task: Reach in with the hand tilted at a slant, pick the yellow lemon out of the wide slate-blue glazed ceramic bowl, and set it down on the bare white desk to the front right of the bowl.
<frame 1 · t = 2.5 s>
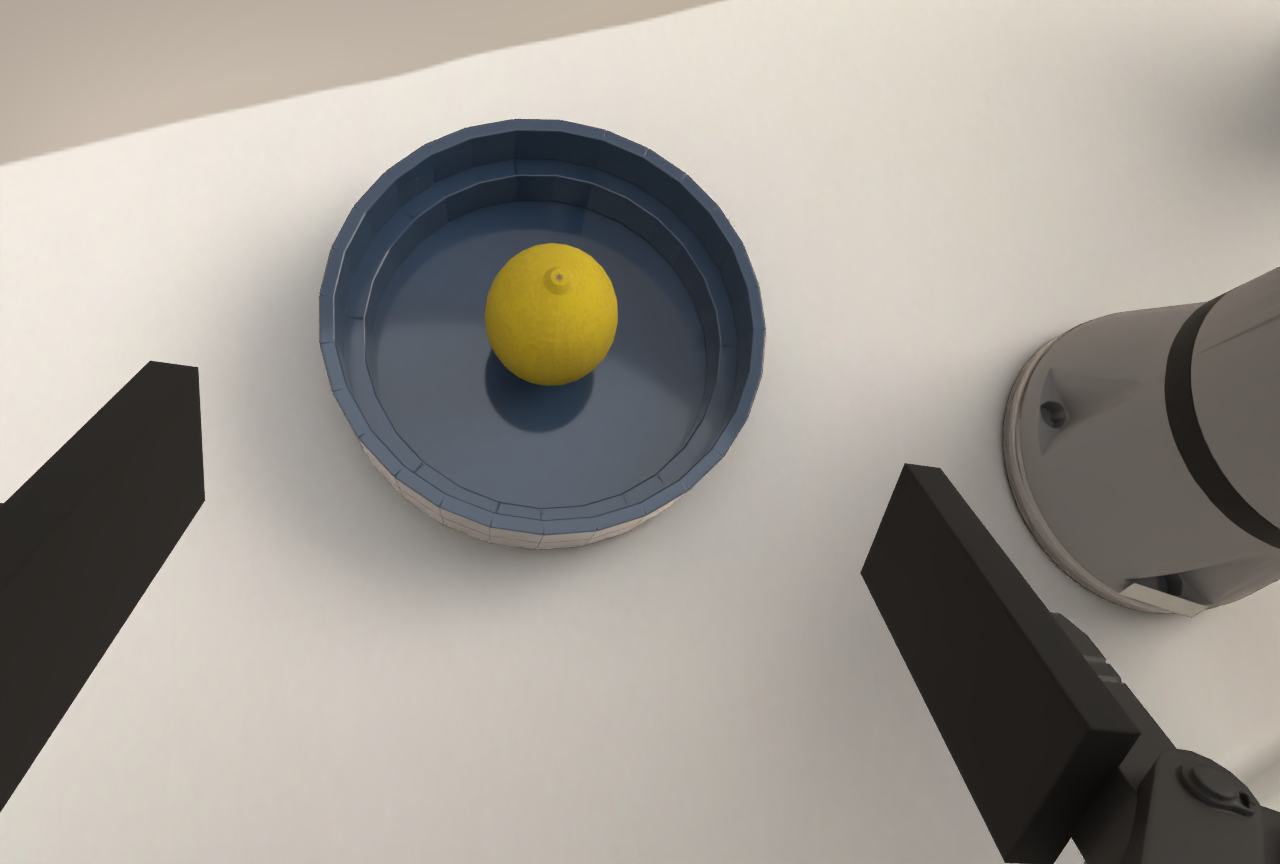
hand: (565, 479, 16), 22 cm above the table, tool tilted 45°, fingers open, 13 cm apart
lemon: (544, 352, 39), resting on bowl
bowl: (544, 352, 39), on the table
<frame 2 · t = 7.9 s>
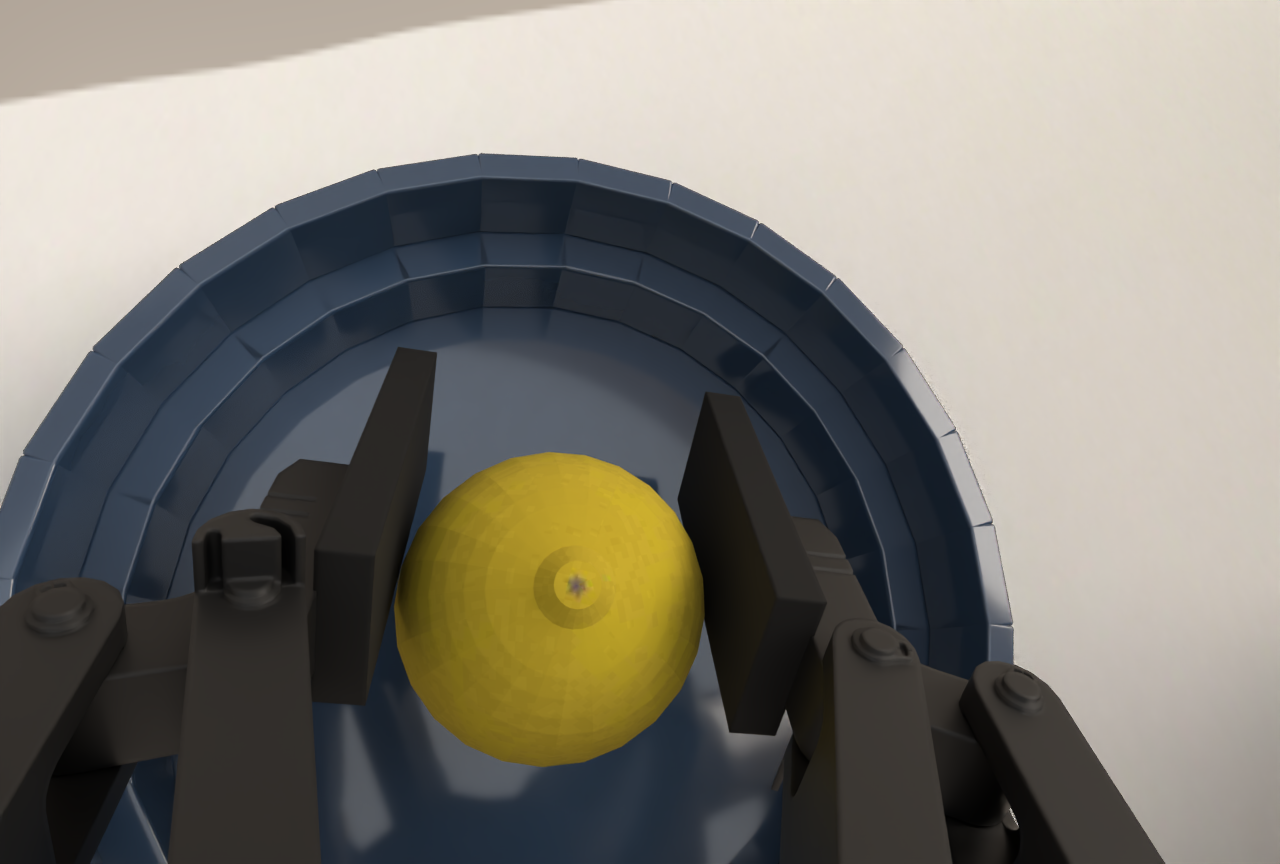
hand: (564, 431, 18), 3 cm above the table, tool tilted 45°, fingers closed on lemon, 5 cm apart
lemon: (531, 619, 20), resting on bowl, touching gripper
bowl: (531, 619, 20), on the table
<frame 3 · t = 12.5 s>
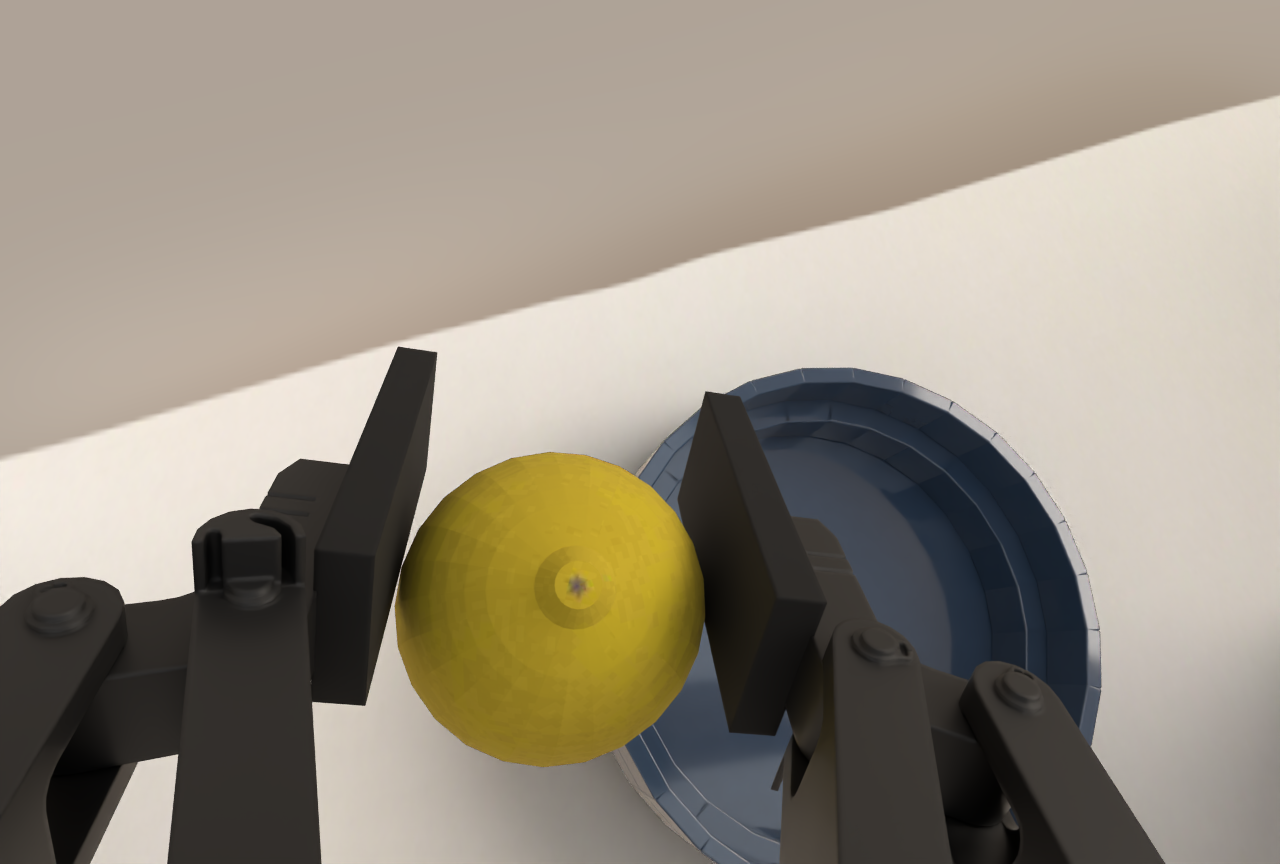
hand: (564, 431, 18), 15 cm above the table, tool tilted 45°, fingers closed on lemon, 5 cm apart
lemon: (532, 619, 20), point 12 cm above the table, touching gripper
bowl: (810, 626, 33), on the table
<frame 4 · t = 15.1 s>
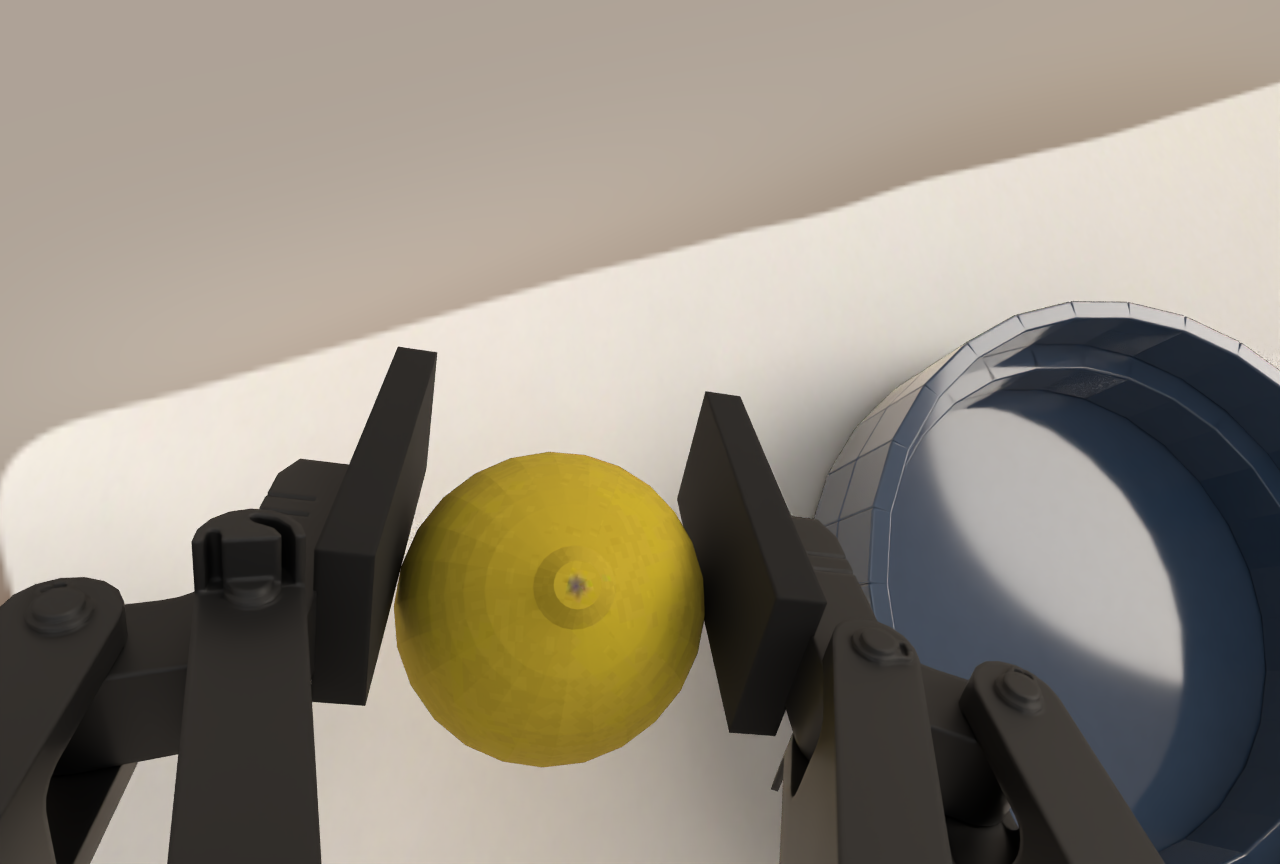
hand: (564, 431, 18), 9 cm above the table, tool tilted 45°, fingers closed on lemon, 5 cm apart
lemon: (531, 619, 19), point 6 cm above the table, touching gripper
bowl: (1058, 610, 28), on the table
when the fingers open (3 cm above the table, at t = 17.0 s): lemon stays where it is, on the table.
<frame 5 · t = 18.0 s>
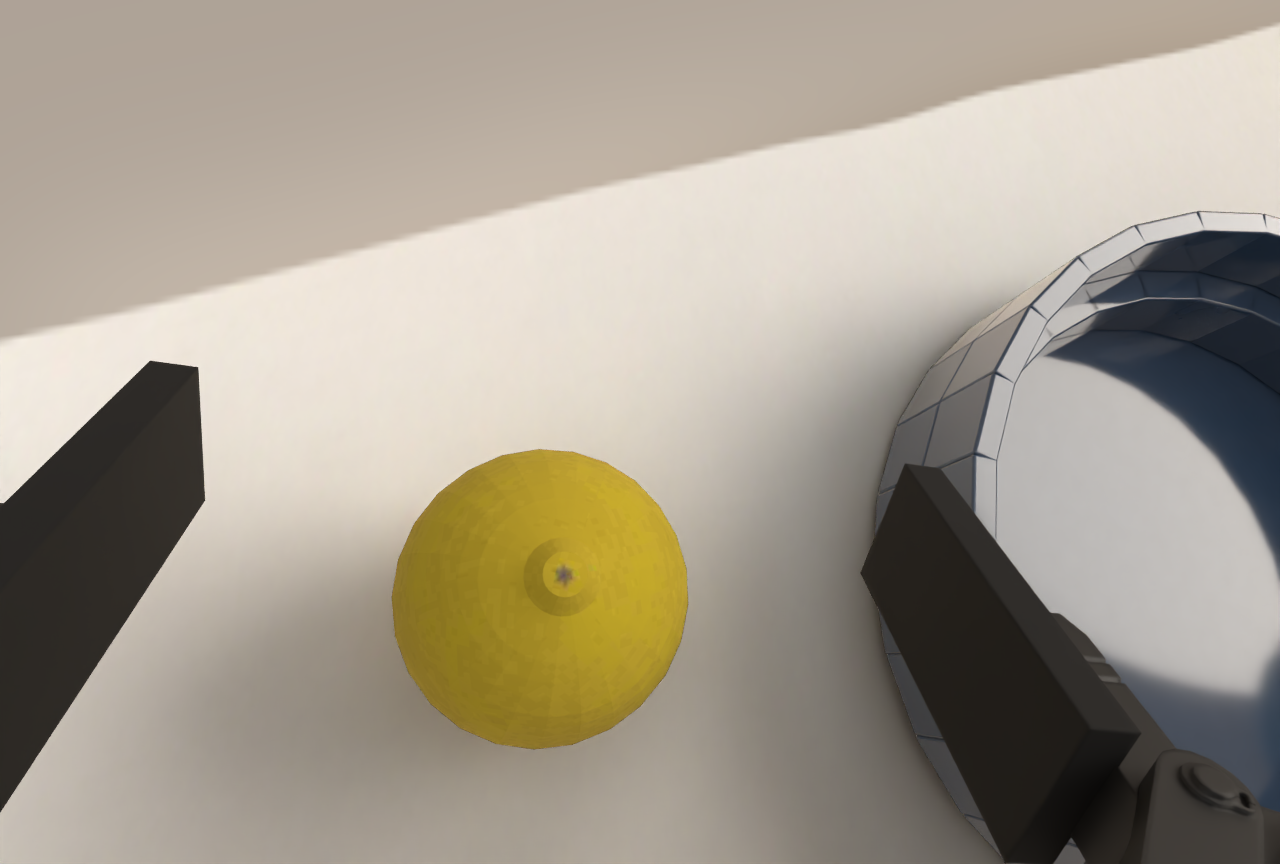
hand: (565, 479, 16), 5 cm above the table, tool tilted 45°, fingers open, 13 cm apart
lemon: (524, 611, 20), on the table
bowl: (1169, 589, 24), on the table
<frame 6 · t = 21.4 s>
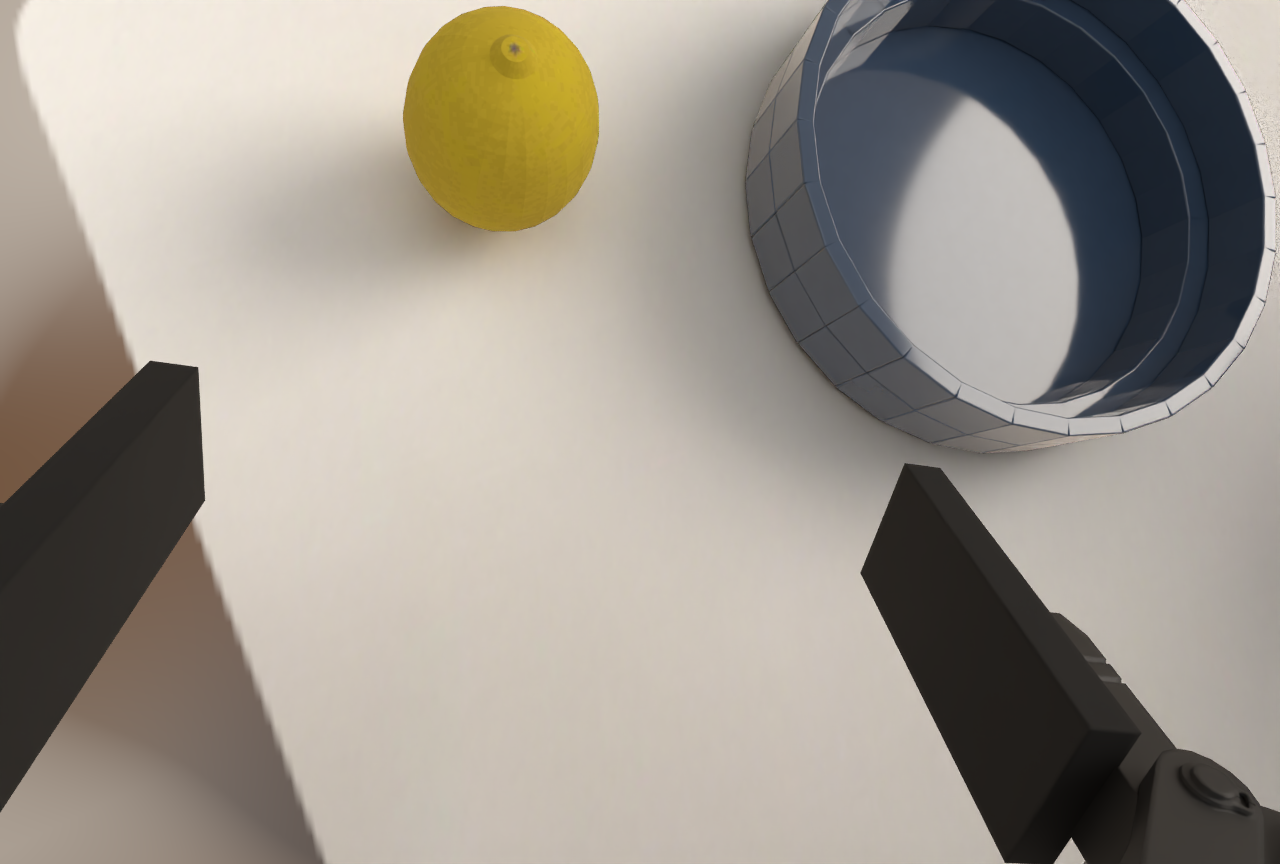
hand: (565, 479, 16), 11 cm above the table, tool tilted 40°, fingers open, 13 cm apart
lemon: (492, 189, 28), on the table
bowl: (967, 217, 33), on the table
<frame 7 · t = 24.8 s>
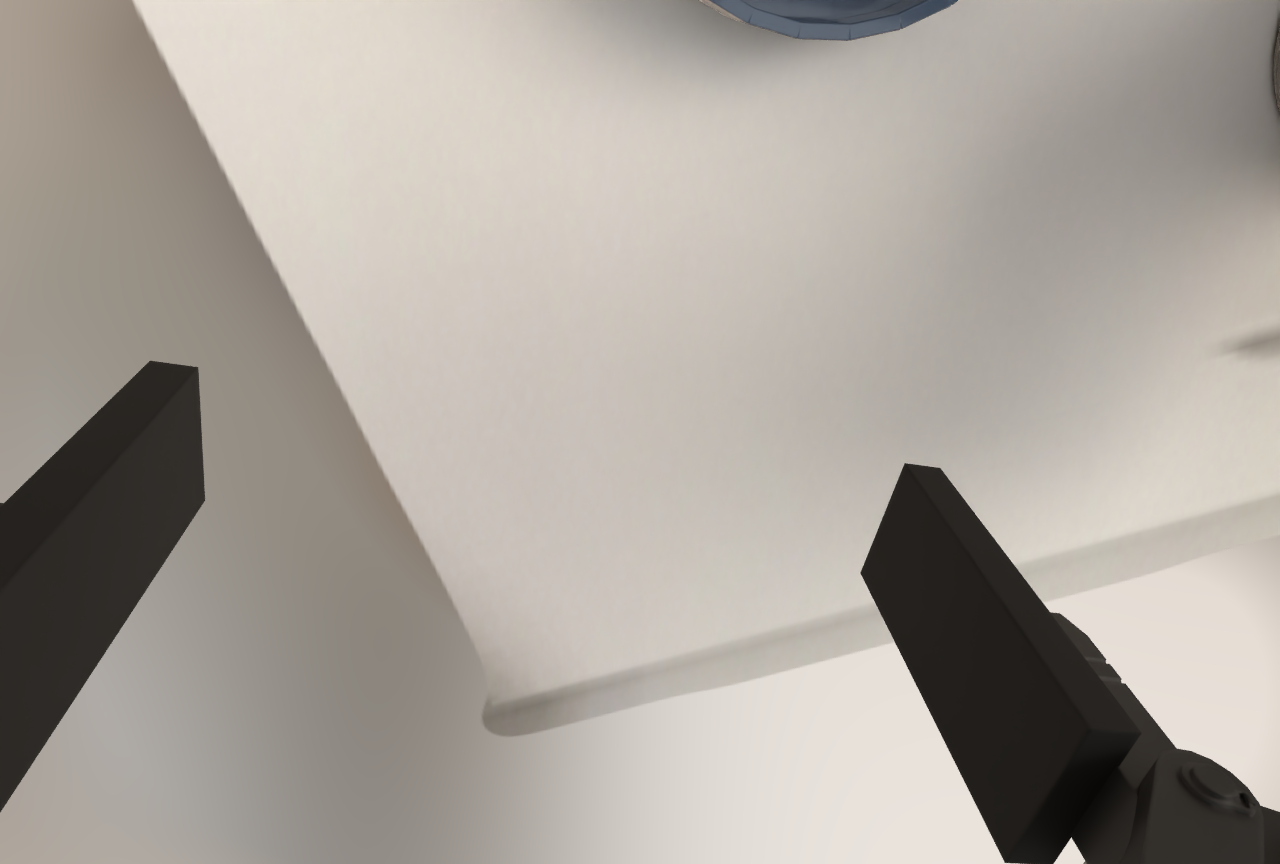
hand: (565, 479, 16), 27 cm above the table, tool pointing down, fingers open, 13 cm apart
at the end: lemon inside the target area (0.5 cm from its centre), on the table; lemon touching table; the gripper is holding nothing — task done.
